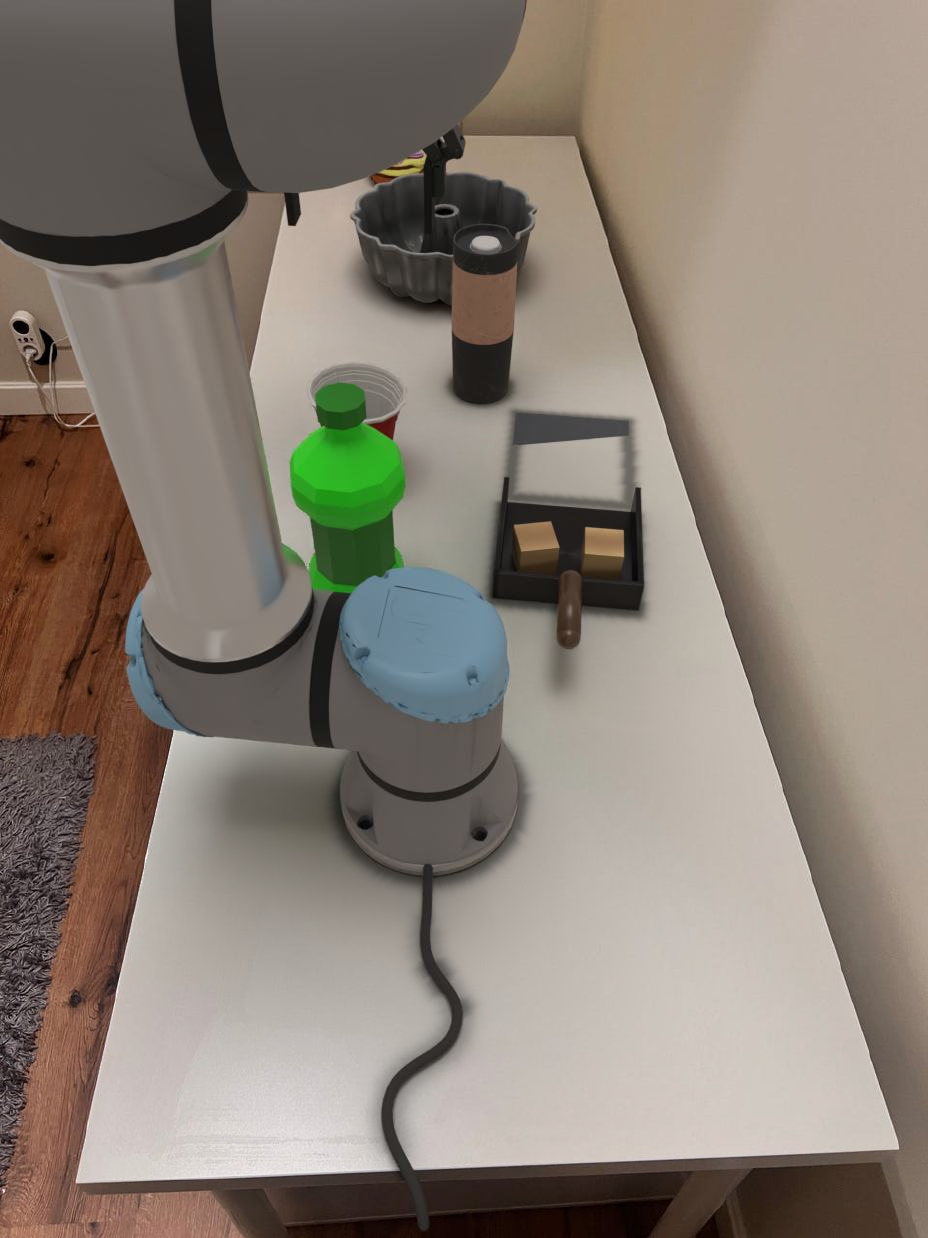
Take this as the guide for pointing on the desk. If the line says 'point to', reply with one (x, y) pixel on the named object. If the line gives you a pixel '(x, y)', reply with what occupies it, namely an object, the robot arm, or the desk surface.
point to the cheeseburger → (402, 168)
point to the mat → (564, 428)
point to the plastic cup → (367, 391)
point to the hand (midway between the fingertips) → (362, 224)
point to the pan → (570, 562)
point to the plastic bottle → (348, 491)
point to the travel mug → (483, 311)
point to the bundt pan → (427, 259)
